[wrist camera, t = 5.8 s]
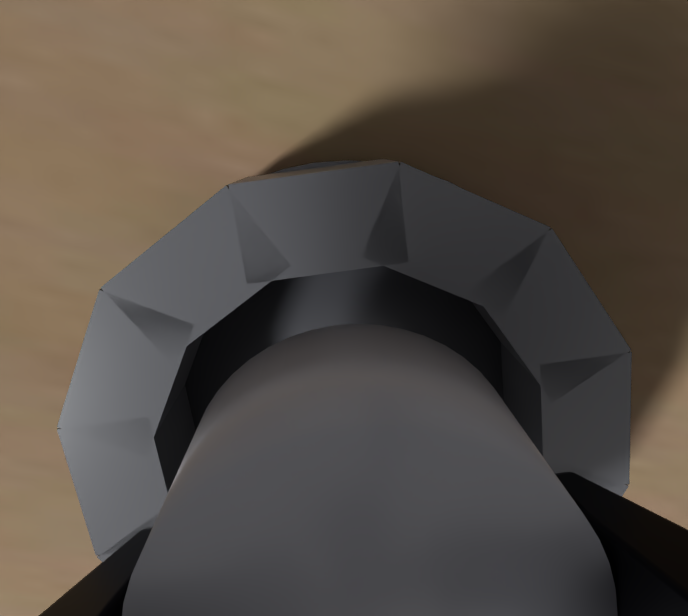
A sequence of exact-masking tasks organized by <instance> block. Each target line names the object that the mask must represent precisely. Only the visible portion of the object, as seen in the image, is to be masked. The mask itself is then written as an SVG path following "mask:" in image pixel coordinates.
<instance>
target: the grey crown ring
mask: <svg viewBox="0 0 688 616" xmlns="http://www.w3.org/2000/svg"><path fill="white" fill-rule="evenodd" d="M347 324H372V325H384V326H389V327H395V328H400V329H405V330H408V331H411V332H414V333H417V334H420V335H424V336H426V337H428V338H431V339H433V340H435V341H437V342H439V343H441V344H443V345H445V346H447V347H449V348H450V349H452V350H453V351H455V352H456V353H458V354H459V355H461V356H462V357H464V358H465V359H466V360H467V361H469V362H470V363H471V364H472V365H473V366H474V367H475V368H477V369H478V370H479V371H480V372H481V373H482V374H483V376H484V377H485V378H486V379H487V380H488V381H489V382H490V384H491V385H492V386H493V387H494V389H495V390H496V391H497V393H498V394H499V396H500V397H501V398H502V400H503V401H504V403H505V404H506V406H507V407H508V408H509V410H510V411H511V413H512V414H513V415H514V417H515V418H516V420H517V421H518V422H519V424H520V425H521V427H522V428H523V429H524V431H525V432H526V434H527V435H528V437H529V438H530V439H531V441H532V442H533V444H534V445H535V446H536V448H537V449H538V451H539V452H540V453H541V455H542V456H543V458H544V459H545V461H546V462H547V463H548V465H549V466H550V468H551V469H552V470H553V472H554V473H562V472H574V473H576V474H578V475H580V476H582V477H584V478H586V479H588V480H590V481H592V482H594V483H596V484H598V485H600V486H602V487H604V488H606V489H608V490H610V491H612V492H614V493H616V494H618V495H620V496H623V494H624V492H625V491H626V489H627V488H628V485H627V484H629V467H630V415H631V362H632V352H631V351H630V350H631V349H630V348H629V346H628V344H627V343H626V341H625V340H624V338H623V337H622V335H621V334H620V332H619V331H618V329H617V328H616V326H615V325H614V323H613V321H612V320H611V318H610V317H609V315H608V314H607V312H606V311H605V309H604V308H603V306H602V305H601V303H600V301H599V300H598V298H597V297H596V295H595V294H594V292H593V291H592V289H591V288H590V286H589V285H588V283H587V282H586V280H585V278H584V277H583V275H582V274H581V272H580V271H579V269H578V268H577V266H576V265H575V263H574V262H573V260H572V258H571V257H570V255H569V254H568V252H567V251H566V249H565V248H564V246H563V245H562V243H561V242H560V240H559V238H558V237H557V235H556V234H555V232H554V231H553V229H552V228H550V227H549V226H546V225H544V224H542V223H540V222H537V221H535V220H533V219H530V218H528V217H526V216H524V215H521V214H519V213H517V212H514V211H512V210H510V209H508V208H505V207H503V206H501V205H498V204H496V203H494V202H492V201H489V200H487V199H485V198H482V197H480V196H478V195H476V194H473V193H471V192H469V191H466V190H464V189H462V188H460V187H458V186H456V185H454V184H452V183H450V182H449V181H446V180H443V179H440V178H437V177H435V176H432V175H430V174H428V173H425V172H423V171H421V170H418V169H416V168H414V167H411V166H409V165H407V164H405V163H402V162H399V161H393V160H387V159H378V160H370V161H352V160H344V161H328V162H315V163H310V164H305V165H300V166H295V167H290V168H285V169H281V170H279V171H276V172H273V173H270V174H267V175H259V176H252V177H247V178H244V179H241V180H239V181H236V182H234V183H231V184H228V185H226V186H225V187H224V188H222V189H221V190H220V191H219V192H217V193H216V194H215V195H214V196H213V197H211V198H210V199H209V200H208V201H206V202H205V203H204V204H203V205H202V206H200V207H199V208H198V209H197V210H195V211H194V212H193V213H192V214H190V215H189V216H188V217H187V218H186V219H184V220H183V221H182V222H181V223H179V224H178V225H177V226H176V227H175V228H173V229H172V230H171V231H170V232H168V233H167V234H166V235H165V236H163V237H162V238H161V239H160V240H159V241H157V242H156V243H155V244H154V245H152V246H151V247H150V248H149V249H148V250H146V251H145V252H144V253H143V254H141V255H140V256H139V257H138V258H136V259H135V260H134V261H133V262H132V263H130V264H129V265H128V266H127V267H125V268H124V269H123V270H122V271H121V272H119V273H118V274H117V275H116V276H114V277H113V278H112V279H111V280H109V281H108V282H107V283H106V284H105V285H103V286H102V287H101V289H100V290H99V292H98V296H97V299H96V302H95V305H94V309H93V312H92V315H91V318H90V322H89V325H88V328H87V331H86V335H85V338H84V341H83V344H82V348H81V351H80V354H79V357H78V361H77V364H76V367H75V370H74V374H73V377H72V380H71V383H70V387H69V390H68V393H67V396H66V400H65V403H64V406H63V409H62V413H61V416H60V419H59V422H58V426H57V427H58V429H57V431H58V434H59V437H60V441H61V444H62V447H63V450H64V454H65V457H66V460H67V463H68V467H69V470H70V473H71V476H72V480H73V483H74V486H75V489H76V492H77V496H78V499H79V502H80V505H81V509H82V512H83V515H84V518H85V522H86V525H87V528H88V531H89V535H90V538H91V541H92V544H93V548H94V551H95V554H96V555H98V556H97V558H99V559H100V560H101V561H102V562H103V561H105V560H106V559H107V558H108V557H109V556H110V555H112V554H113V553H114V552H115V551H116V550H118V549H119V548H120V547H121V546H122V545H124V544H125V543H126V542H127V541H128V540H129V539H131V538H132V537H133V536H134V535H135V534H137V533H138V532H139V531H140V530H142V529H145V528H153V526H154V523H155V521H156V519H157V517H158V514H159V512H160V510H161V508H162V505H163V503H164V501H165V499H166V496H167V494H168V492H169V490H170V488H171V485H172V483H173V481H174V479H175V476H176V474H177V472H178V470H179V467H180V465H181V463H182V461H183V459H184V456H185V454H186V452H187V450H188V447H189V445H190V443H191V441H192V438H193V436H194V434H195V432H196V429H197V427H198V425H199V423H200V421H201V419H202V417H203V414H204V412H205V410H206V408H207V406H208V405H209V403H210V402H211V400H212V399H213V397H214V396H215V394H216V393H217V391H218V390H219V389H220V388H221V386H222V385H223V384H224V383H225V382H226V381H227V380H228V379H229V377H230V376H231V375H232V374H233V373H234V372H235V371H237V370H238V369H239V368H240V367H241V366H242V365H244V364H245V363H246V362H247V361H248V360H249V359H251V358H252V357H254V356H256V355H257V354H259V353H260V352H262V351H263V350H265V349H266V348H268V347H270V346H272V345H274V344H276V343H278V342H280V341H282V340H284V339H286V338H289V337H291V336H294V335H297V334H300V333H303V332H306V331H309V330H313V329H318V328H324V327H329V326H334V325H347Z"/></svg>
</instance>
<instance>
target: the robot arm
mask: <svg viewBox="0 0 688 616" xmlns="http://www.w3.org/2000/svg"><path fill="white" fill-rule="evenodd" d="M555 475H556V476H557V477H558V479H559V480H560V482H561V483H562V484H563V486H564V487H565V489H566V490H567V492H568V493H569V494H570V496H571V497H572V499H573V500H574V501H575V503H576V504H577V506H578V507H579V508H580V510H581V511H582V513H583V514H584V516H585V517H586V519H587V520H588V522H589V523H590V525H591V527H592V528H593V530H594V531H595V533H596V535H597V536H598V538H599V540H600V542H601V544H602V547H603V549H604V551H605V554H606V556H607V558H608V561H609V563H610V567H611V571H612V575H613V580H614V584H615V588H616V600H617V616H688V530H687V529H685V528H683V527H681V526H679V525H677V524H675V523H673V522H671V521H669V520H667V519H665V518H663V517H661V516H659V515H657V514H655V513H653V512H652V511H650V510H648V509H646V508H644V507H642V506H640V505H638V504H636V503H634V502H632V501H630V500H628V499H626V498H624V497H622V496H620V495H618V494H616V493H614V492H612V491H610V490H608V489H606V488H604V487H602V486H600V485H598V484H596V483H594V482H592V481H590V480H588V479H586V478H584V477H582V476H580V475H578V474H576V473H574V472H562V473H555ZM151 530H152V528H145V529H142V530H140V531H139V532H138V533H137V534H135V535H134V536H133V537H132V538H131V539H129V540H128V541H127V542H126V543H125V544H124V545H122V546H121V547H120V548H119V549H118V550H116V551H115V552H114V553H113V554H112V555H110V556H109V557H108V558H107V559H106V560H105V561H103V562H102V563H101V564H100V565H99V566H97V567H96V568H95V569H94V570H93V571H91V572H90V573H89V574H88V575H87V576H85V577H84V578H83V579H82V580H81V581H80V582H78V583H77V584H76V585H75V586H74V587H72V588H71V589H70V590H69V591H68V592H66V593H65V594H64V595H63V596H62V597H61V598H59V599H58V600H57V601H56V602H55V603H53V604H52V605H51V606H50V607H49V608H47V609H46V610H45V611H44V612H43V613H41V614H40V615H39V616H122V611H123V602H124V599H125V595H126V592H127V588H128V585H129V581H130V578H131V575H132V572H133V570H134V568H135V566H136V564H137V561H138V559H139V557H140V555H141V552H142V550H143V548H144V546H145V543H146V541H147V539H148V537H149V534H150V532H151Z"/></svg>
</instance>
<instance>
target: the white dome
mask: <svg viewBox="0 0 688 616" xmlns="http://www.w3.org/2000/svg"><path fill="white" fill-rule="evenodd" d="M122 616H617V600H616V588H615V584H614V580H613V575H612V571H611V567H610V563H609V561H608V558H607V556H606V554H605V551H604V549H603V547H602V544H601V542H600V540H599V538H598V536H597V535H596V533H595V531H594V530H593V528H592V527H591V525H590V523H589V522H588V520H587V519H586V517H585V516H584V514H583V513H582V511H581V510H580V508H579V507H578V506H577V504H576V503H575V501H574V500H573V499H572V497H571V496H570V494H569V493H568V492H567V490H566V489H565V487H564V486H563V484H562V483H561V482H560V480H559V479H558V477H557V476H556V475H555V473H554V472H553V470H552V469H551V468H550V466H549V465H548V463H547V462H546V461H545V459H544V458H543V456H542V455H541V453H540V452H539V451H538V449H537V448H536V446H535V445H534V444H533V442H532V441H531V439H530V438H529V437H528V435H527V434H526V432H525V431H524V429H523V428H522V427H521V425H520V424H519V422H518V421H517V420H516V418H515V417H514V415H513V414H512V413H511V411H510V410H509V408H508V407H507V406H506V404H505V403H504V401H503V400H502V398H501V397H500V396H499V394H498V393H497V391H496V390H495V389H494V387H493V386H492V385H491V384H490V382H489V381H488V380H487V379H486V378H485V377H484V376H483V374H482V373H481V372H480V371H479V370H478V369H477V368H475V367H474V366H473V365H472V364H471V363H470V362H469V361H467V360H466V359H465V358H464V357H462V356H461V355H459V354H458V353H456V352H455V351H453V350H452V349H450V348H449V347H447V346H445V345H443V344H441V343H439V342H437V341H435V340H433V339H431V338H428V337H426V336H424V335H420V334H417V333H414V332H411V331H408V330H405V329H400V328H395V327H389V326H384V325H372V324H347V325H334V326H329V327H324V328H318V329H313V330H309V331H306V332H303V333H300V334H297V335H294V336H291V337H289V338H286V339H284V340H282V341H280V342H278V343H276V344H274V345H272V346H270V347H268V348H266V349H265V350H263V351H262V352H260V353H259V354H257V355H256V356H254V357H252V358H251V359H249V360H248V361H247V362H246V363H245V364H244V365H242V366H241V367H240V368H239V369H238V370H237V371H235V372H234V373H233V374H232V375H231V376H230V377H229V379H228V380H227V381H226V382H225V383H224V384H223V385H222V386H221V388H220V389H219V390H218V391H217V393H216V394H215V396H214V397H213V399H212V400H211V402H210V403H209V405H208V406H207V408H206V410H205V412H204V414H203V417H202V419H201V421H200V423H199V425H198V427H197V429H196V432H195V434H194V436H193V438H192V441H191V443H190V445H189V447H188V450H187V452H186V454H185V456H184V459H183V461H182V463H181V465H180V467H179V470H178V472H177V474H176V476H175V479H174V481H173V483H172V485H171V488H170V490H169V492H168V494H167V496H166V499H165V501H164V503H163V505H162V508H161V510H160V512H159V514H158V517H157V519H156V521H155V523H154V526H153V528H152V530H151V532H150V534H149V537H148V539H147V541H146V543H145V546H144V548H143V550H142V552H141V555H140V557H139V559H138V561H137V564H136V566H135V568H134V570H133V572H132V575H131V578H130V581H129V585H128V588H127V592H126V595H125V599H124V602H123V611H122Z"/></svg>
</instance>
